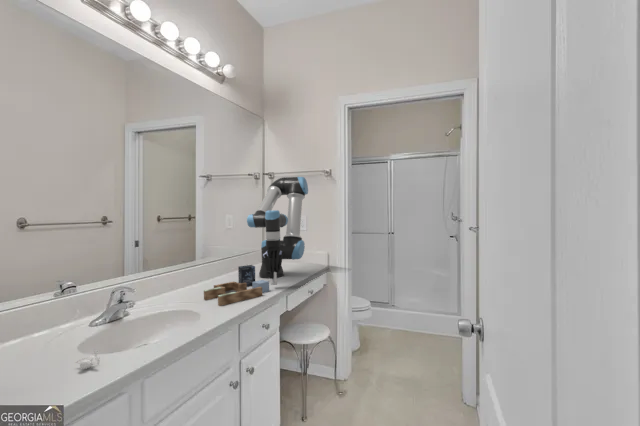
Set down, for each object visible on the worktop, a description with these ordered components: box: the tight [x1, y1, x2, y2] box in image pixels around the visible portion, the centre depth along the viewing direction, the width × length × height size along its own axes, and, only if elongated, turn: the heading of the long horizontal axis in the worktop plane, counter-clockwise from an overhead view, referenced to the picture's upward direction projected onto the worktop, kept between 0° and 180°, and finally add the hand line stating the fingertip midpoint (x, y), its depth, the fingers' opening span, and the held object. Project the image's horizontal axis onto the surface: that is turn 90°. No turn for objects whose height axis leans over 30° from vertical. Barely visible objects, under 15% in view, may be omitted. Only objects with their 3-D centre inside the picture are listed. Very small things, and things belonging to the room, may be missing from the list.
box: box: [237, 264, 256, 287], centre depth 173 cm, size 8×6×11 cm
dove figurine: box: [74, 349, 101, 370], centre depth 83 cm, size 8×5×5 cm, turn 78°
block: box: [251, 279, 270, 294], centre depth 159 cm, size 6×6×5 cm
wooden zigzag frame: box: [203, 281, 263, 307], centre depth 151 cm, size 22×22×4 cm
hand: (274, 284), depth 166 cm, fingers closed
